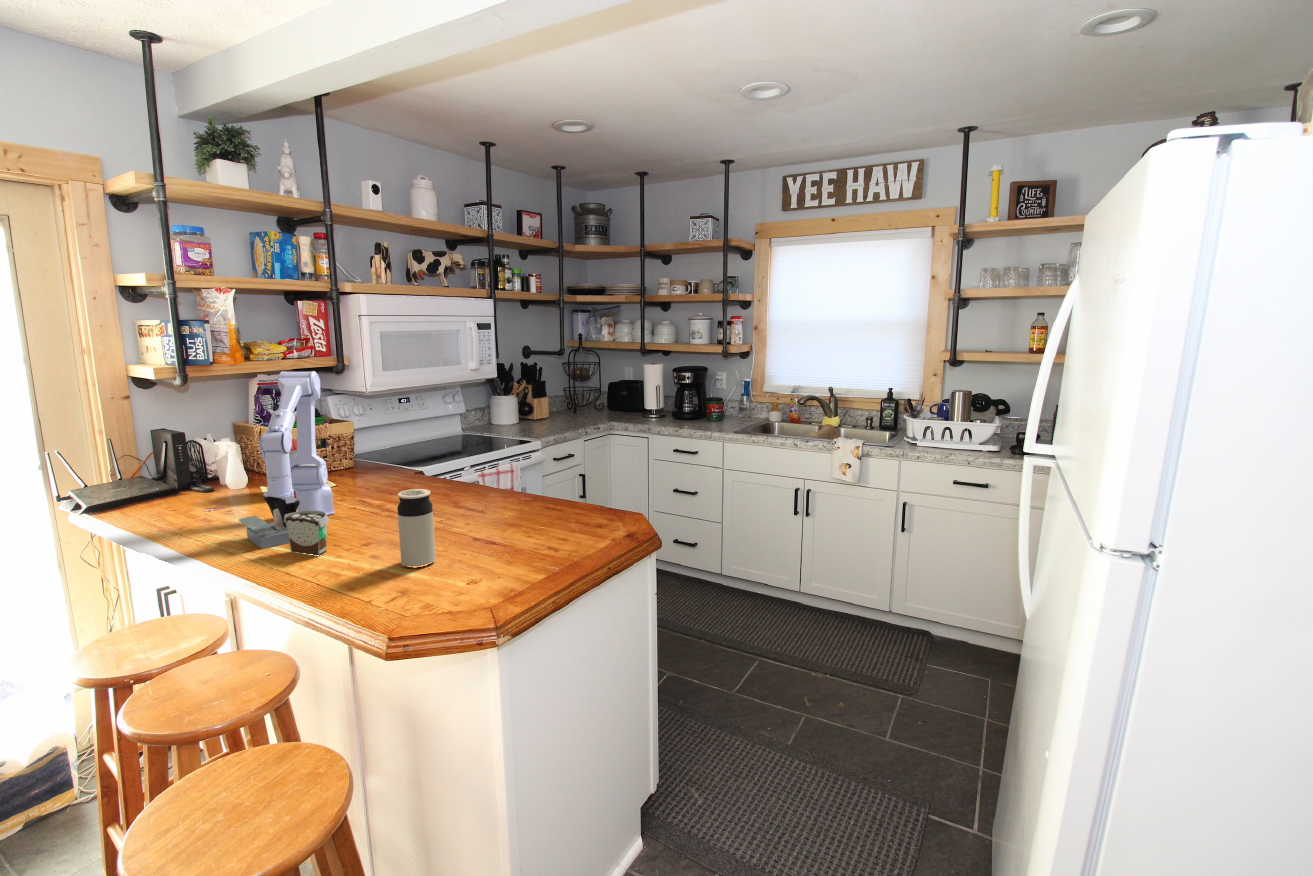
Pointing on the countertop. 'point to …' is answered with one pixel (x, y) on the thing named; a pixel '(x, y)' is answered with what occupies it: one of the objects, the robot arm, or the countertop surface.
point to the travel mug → (416, 527)
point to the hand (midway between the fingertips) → (284, 523)
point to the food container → (307, 531)
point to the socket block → (264, 533)
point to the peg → (278, 520)
